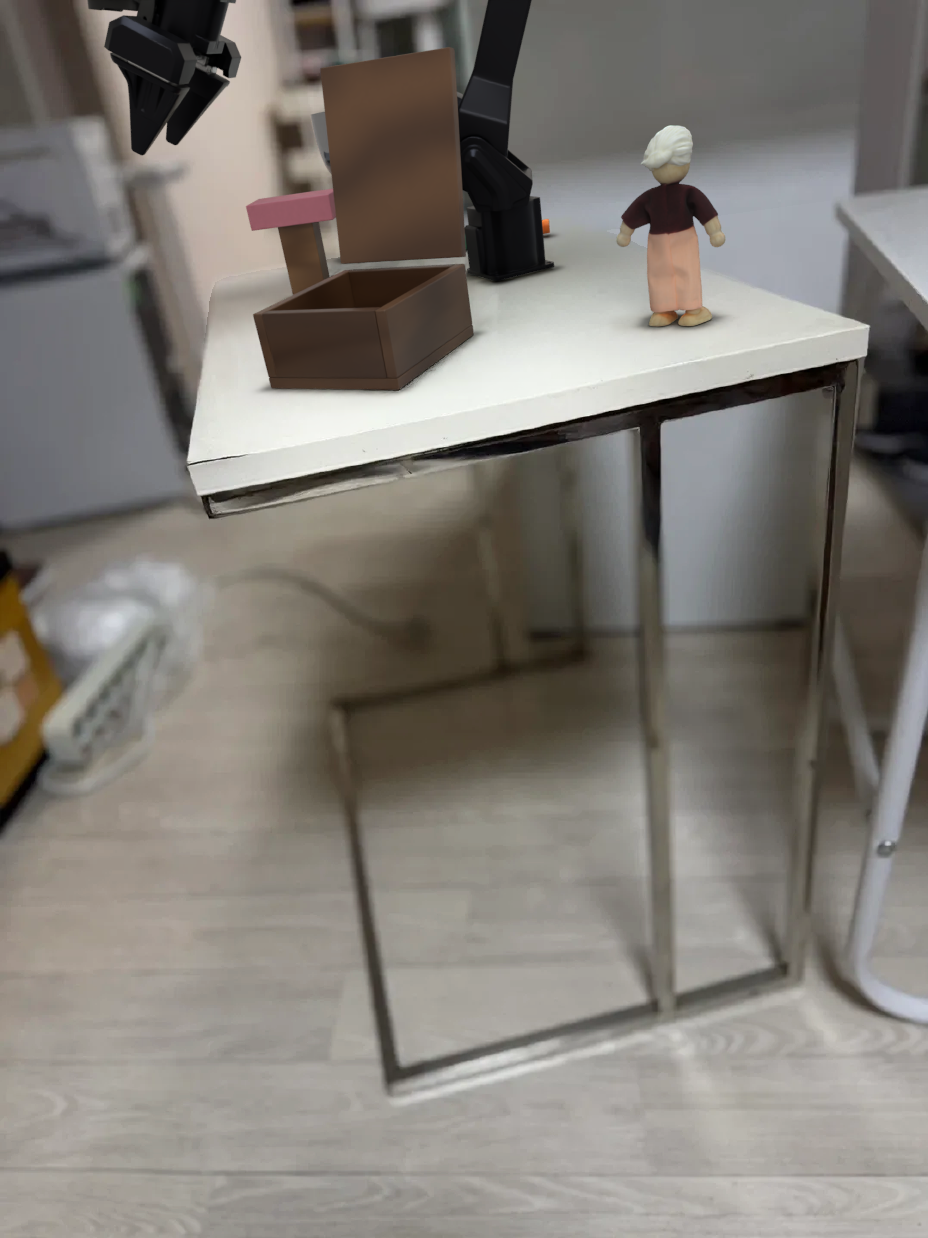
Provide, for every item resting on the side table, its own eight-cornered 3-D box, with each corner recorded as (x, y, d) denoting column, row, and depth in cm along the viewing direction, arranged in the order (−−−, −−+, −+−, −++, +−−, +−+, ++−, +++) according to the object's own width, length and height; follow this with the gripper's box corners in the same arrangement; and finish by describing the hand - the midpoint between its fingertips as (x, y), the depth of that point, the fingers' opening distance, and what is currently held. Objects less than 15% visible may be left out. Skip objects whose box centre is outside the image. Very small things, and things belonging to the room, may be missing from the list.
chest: (399, 390, 62) (385, 310, 59) (270, 388, 66) (252, 314, 63) (474, 334, 71) (465, 263, 68) (357, 336, 76) (344, 269, 73)
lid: (449, 47, 63) (454, 48, 63) (319, 68, 67) (325, 69, 68) (461, 257, 68) (466, 256, 69) (340, 264, 72) (346, 263, 73)
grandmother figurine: (728, 311, 67) (731, 115, 61) (723, 326, 64) (725, 122, 58) (624, 316, 70) (615, 129, 63) (614, 331, 67) (604, 136, 60)
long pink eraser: (342, 212, 89) (337, 187, 88) (333, 220, 86) (328, 194, 84) (263, 223, 90) (258, 199, 89) (251, 231, 87) (245, 206, 86)
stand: (332, 291, 93) (317, 216, 89) (327, 297, 90) (311, 221, 87) (300, 295, 93) (284, 221, 89) (294, 301, 91) (277, 226, 87)
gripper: (147, -79, 83) (108, 100, 91) (60, -107, 67) (21, 112, 75) (263, -16, 85) (215, 153, 93) (205, -29, 70) (153, 176, 77)
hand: (155, 148), depth 85 cm, fingers open, 9 cm apart
